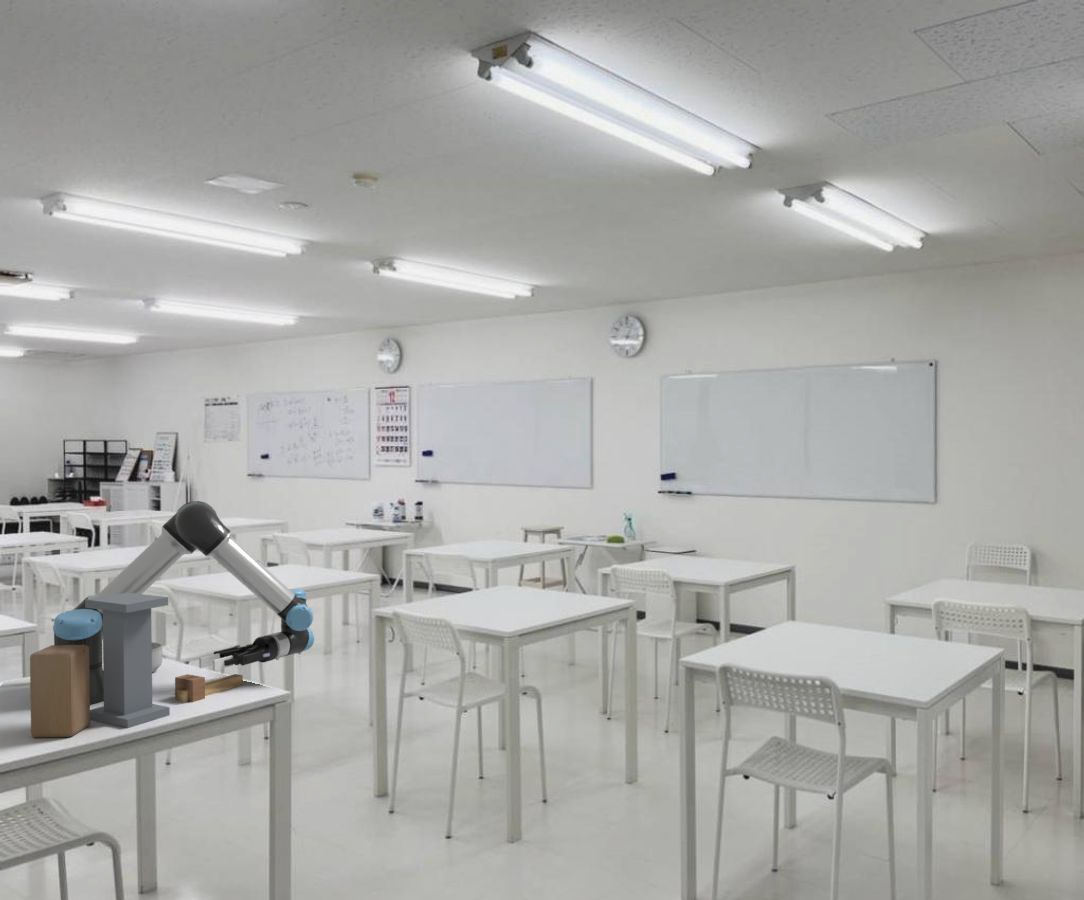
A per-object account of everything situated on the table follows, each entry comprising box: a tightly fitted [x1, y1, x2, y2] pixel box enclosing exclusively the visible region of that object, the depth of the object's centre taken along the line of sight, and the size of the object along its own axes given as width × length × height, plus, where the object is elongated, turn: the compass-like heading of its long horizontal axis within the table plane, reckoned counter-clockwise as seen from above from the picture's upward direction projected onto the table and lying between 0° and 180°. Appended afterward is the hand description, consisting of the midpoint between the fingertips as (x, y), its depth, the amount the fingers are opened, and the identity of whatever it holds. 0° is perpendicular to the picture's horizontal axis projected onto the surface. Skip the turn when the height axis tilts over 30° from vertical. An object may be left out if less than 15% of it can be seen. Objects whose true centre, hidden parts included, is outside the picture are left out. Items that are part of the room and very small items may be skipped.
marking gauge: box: [174, 673, 244, 703], centre depth 255 cm, size 7×20×6 cm, turn 151°
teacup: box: [152, 641, 163, 673], centre depth 279 cm, size 14×11×8 cm
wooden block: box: [29, 644, 91, 739], centre depth 221 cm, size 10×10×20 cm
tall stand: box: [85, 593, 171, 729], centre depth 233 cm, size 16×12×30 cm
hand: (207, 664), depth 254 cm, fingers open, 5 cm apart
